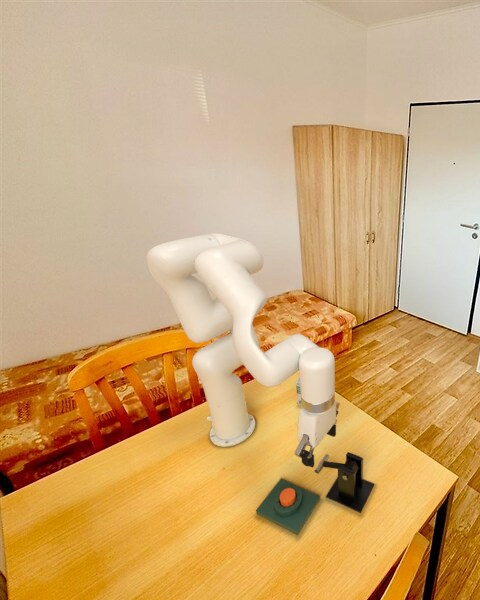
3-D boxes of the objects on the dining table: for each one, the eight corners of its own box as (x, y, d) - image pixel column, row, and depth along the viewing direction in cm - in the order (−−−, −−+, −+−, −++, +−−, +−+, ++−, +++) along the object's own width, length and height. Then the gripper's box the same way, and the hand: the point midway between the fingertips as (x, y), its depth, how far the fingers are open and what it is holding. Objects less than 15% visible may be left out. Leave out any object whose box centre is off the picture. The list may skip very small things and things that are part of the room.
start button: (277, 503, 76) (276, 498, 75) (287, 490, 79) (286, 485, 78) (289, 509, 75) (288, 504, 74) (299, 495, 78) (298, 491, 77)
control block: (256, 515, 77) (254, 505, 75) (281, 483, 84) (280, 473, 83) (298, 537, 73) (296, 527, 71) (320, 501, 81) (319, 491, 79)
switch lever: (316, 474, 81) (312, 467, 81) (326, 459, 85) (323, 452, 85) (351, 480, 76) (348, 473, 76) (361, 463, 81) (358, 456, 80)
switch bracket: (326, 499, 81) (324, 468, 76) (342, 472, 88) (341, 443, 83) (360, 515, 78) (361, 484, 73) (374, 486, 85) (375, 456, 80)
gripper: (325, 371, 81) (325, 419, 89) (279, 419, 66) (284, 471, 74) (350, 380, 79) (349, 428, 87) (309, 431, 64) (312, 484, 72)
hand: (319, 448), depth 80 cm, fingers open, 9 cm apart
